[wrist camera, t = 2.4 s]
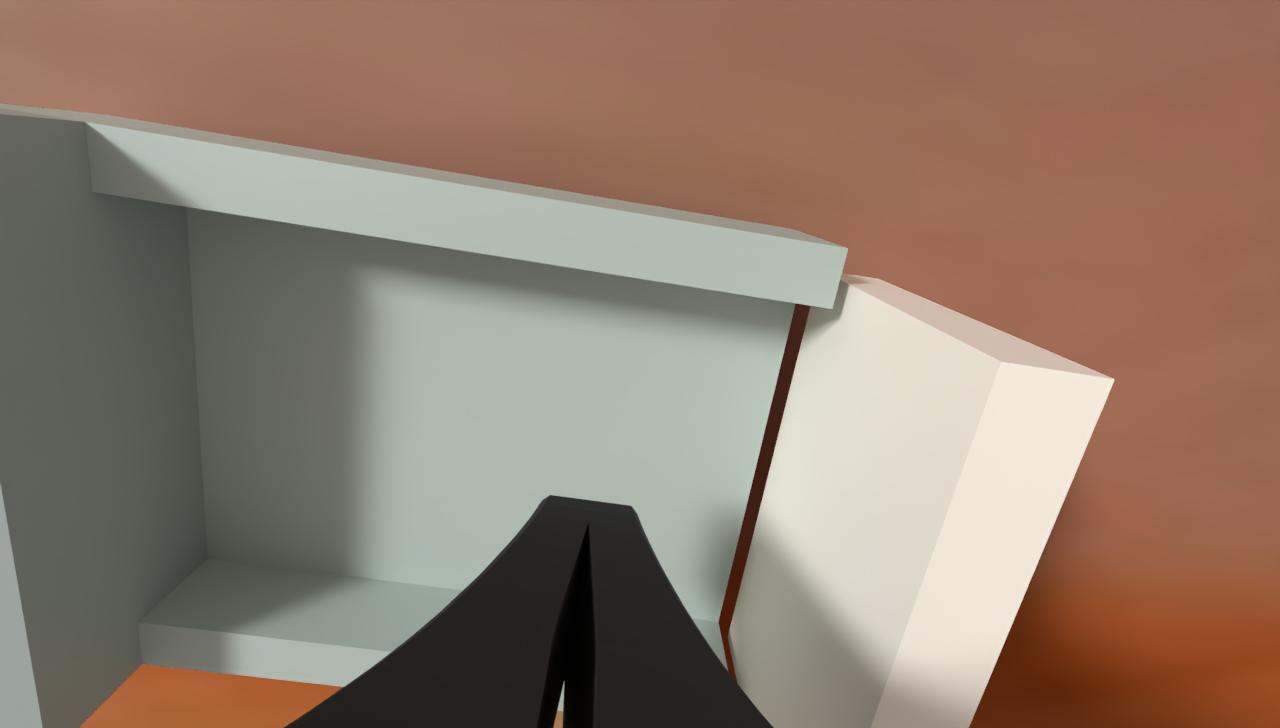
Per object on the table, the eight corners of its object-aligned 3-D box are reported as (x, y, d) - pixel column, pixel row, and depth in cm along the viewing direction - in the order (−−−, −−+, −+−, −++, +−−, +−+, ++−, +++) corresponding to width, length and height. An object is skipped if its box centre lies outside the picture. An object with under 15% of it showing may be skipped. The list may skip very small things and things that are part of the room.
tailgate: (793, 644, 14) (900, 956, 9) (727, 637, 14) (792, 946, 9) (899, 282, 12) (1151, 385, 6) (819, 269, 12) (1000, 361, 6)
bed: (698, 587, 17) (738, 828, 11) (178, 521, 16) (-108, 742, 10) (780, 225, 14) (902, 266, 8) (148, 119, 13) (-290, 70, 7)
